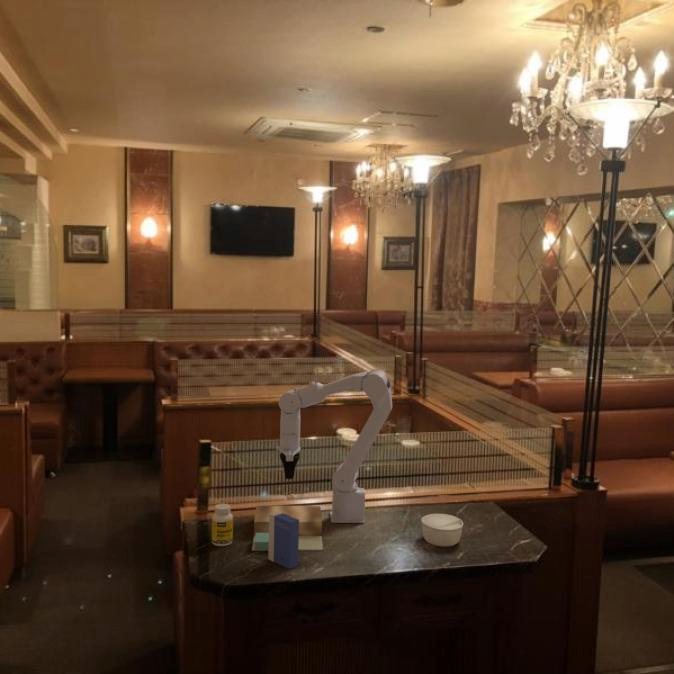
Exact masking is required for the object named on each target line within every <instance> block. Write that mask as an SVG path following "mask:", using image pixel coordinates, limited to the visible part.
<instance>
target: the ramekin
mask: <svg viewBox="0 0 674 674" xmlns="http://www.w3.org/2000/svg"><path fill="white" fill-rule="evenodd" d="M420 524H421V528H422V536H423V538H424V540H425V542H427V543H428V544H430V545H433V546H437V547H445V548H447V547H452V546H453V547H454V546H455V545H456V544H458V543H459V542H460V540H461V535H462V530H463V529H464V522H463V520H462V519H460V518H458V517H457V516H456V515H455V516H454V515H451V514H446V513H431V514H426V515H424V516H422V517H421V519H420Z"/></svg>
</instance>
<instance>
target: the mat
mask: <svg viewBox="0 0 674 674" xmlns="http://www.w3.org/2000/svg"><path fill="white" fill-rule="evenodd" d="M255 537H256V536H254V535H253V541H252V546H251V551H256V552H257V551H268V552H269V550H255ZM323 550H324V547H323V536H299V545H298V552H299V551H303V552H305V551H315V552H316V551H318V552H320V551H322V552H323Z"/></svg>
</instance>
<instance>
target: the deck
mask: <svg viewBox="0 0 674 674" xmlns="http://www.w3.org/2000/svg"><path fill="white" fill-rule="evenodd" d="M321 508H322V507H321V505H256V508H255V514H254V520H253V522H254V524H253V537H254V536H256V533H269V514H270V513H273V512H277V511H278V512H281V513H284V514H286V515H289V516H294V517H296V519H299V536H322V535H323V534H322V533H323V517H322V516H323V515H322V509H321ZM322 537H323V536H322Z"/></svg>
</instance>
